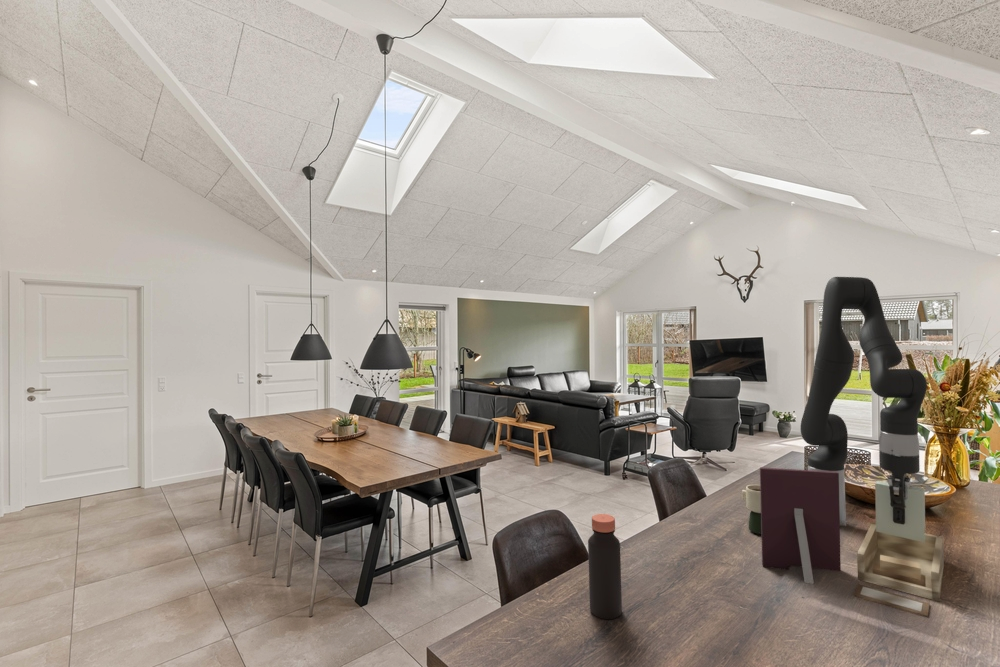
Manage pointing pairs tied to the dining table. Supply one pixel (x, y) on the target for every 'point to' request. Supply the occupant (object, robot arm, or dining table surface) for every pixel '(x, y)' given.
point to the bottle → (604, 568)
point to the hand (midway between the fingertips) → (899, 520)
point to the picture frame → (800, 520)
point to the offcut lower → (899, 576)
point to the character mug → (753, 506)
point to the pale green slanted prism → (913, 513)
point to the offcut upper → (900, 567)
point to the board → (892, 600)
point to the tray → (906, 549)
